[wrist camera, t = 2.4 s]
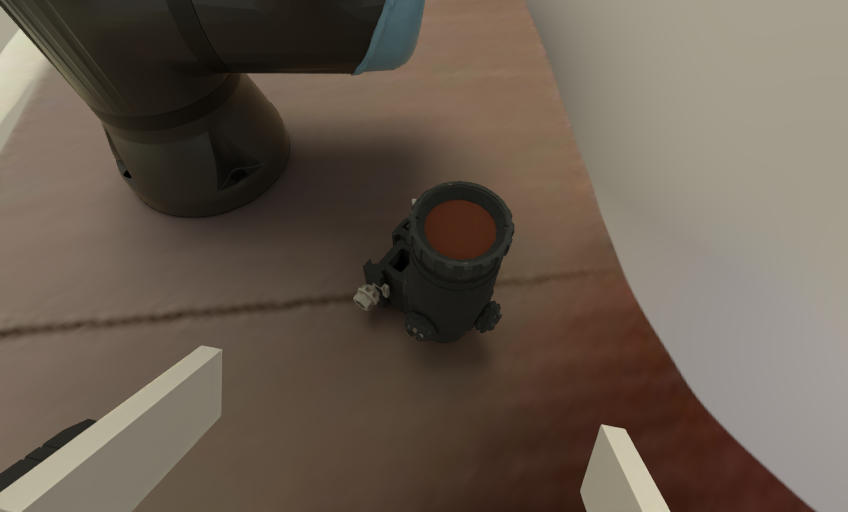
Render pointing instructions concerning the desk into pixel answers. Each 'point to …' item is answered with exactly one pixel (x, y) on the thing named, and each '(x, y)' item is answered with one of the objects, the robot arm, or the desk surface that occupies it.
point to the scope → (444, 263)
